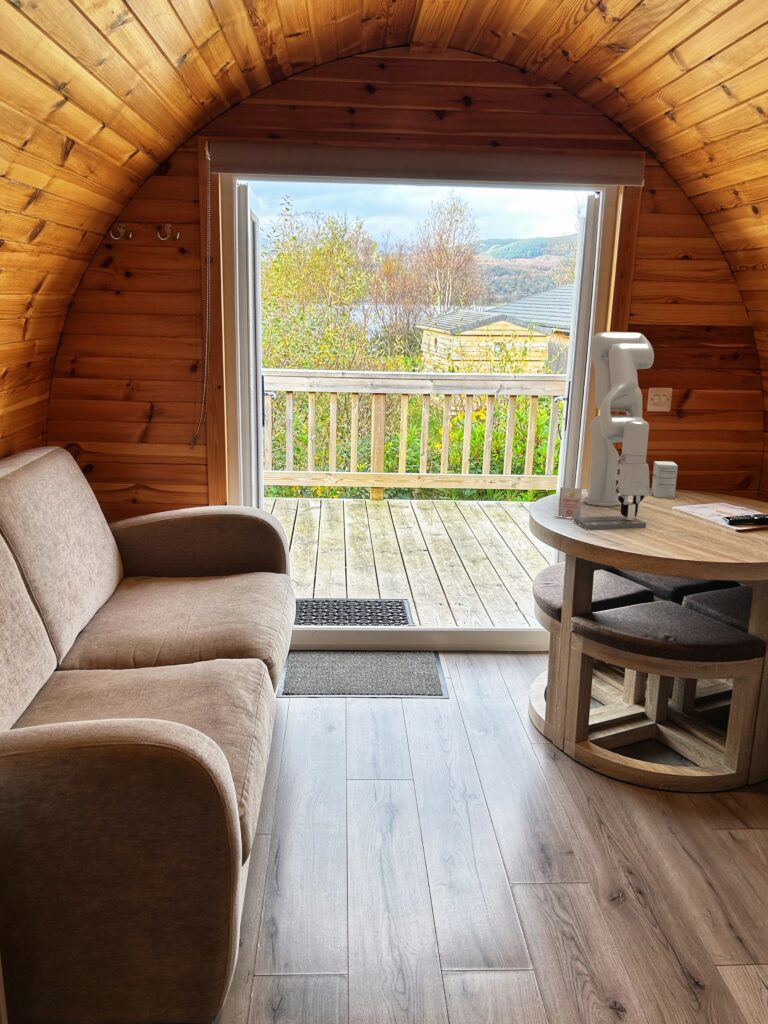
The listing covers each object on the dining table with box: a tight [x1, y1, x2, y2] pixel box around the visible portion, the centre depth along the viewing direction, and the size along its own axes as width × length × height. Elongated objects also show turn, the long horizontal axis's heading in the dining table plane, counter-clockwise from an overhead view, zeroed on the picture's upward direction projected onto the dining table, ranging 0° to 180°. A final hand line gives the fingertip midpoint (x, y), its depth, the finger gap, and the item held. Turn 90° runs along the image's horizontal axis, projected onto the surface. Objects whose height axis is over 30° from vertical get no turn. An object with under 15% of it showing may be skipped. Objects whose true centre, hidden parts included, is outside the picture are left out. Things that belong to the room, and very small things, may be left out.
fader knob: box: [622, 501, 636, 520], centre depth 258 cm, size 3×2×5 cm
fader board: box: [573, 515, 647, 530], centre depth 258 cm, size 10×20×2 cm, turn 102°
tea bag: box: [557, 486, 583, 518], centre depth 266 cm, size 4×7×10 cm, turn 73°
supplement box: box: [650, 460, 679, 499], centre depth 301 cm, size 7×7×13 cm
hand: (628, 515), depth 258 cm, fingers closed on fader knob, 2 cm apart
